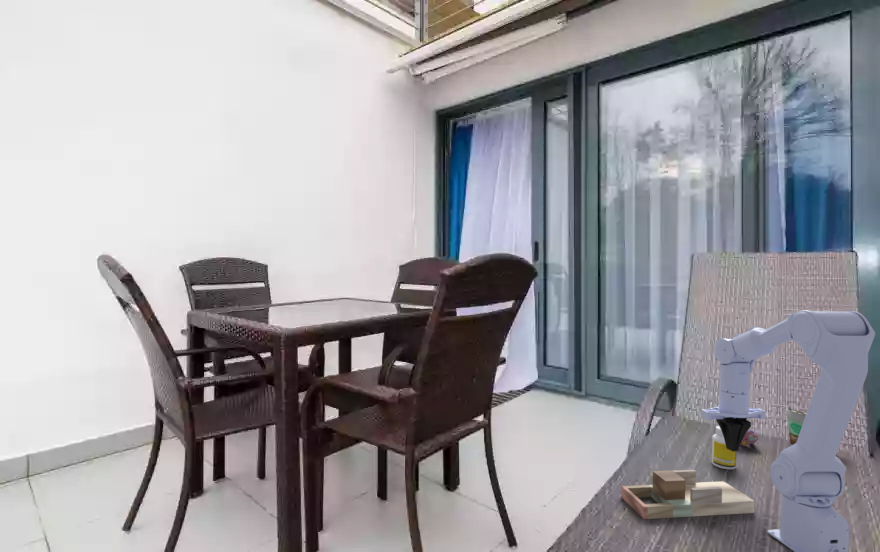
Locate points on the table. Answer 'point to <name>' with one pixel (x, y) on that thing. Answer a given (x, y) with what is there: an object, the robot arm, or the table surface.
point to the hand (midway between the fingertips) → (732, 449)
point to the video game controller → (749, 438)
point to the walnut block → (669, 485)
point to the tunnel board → (688, 499)
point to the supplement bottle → (722, 452)
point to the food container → (794, 423)
